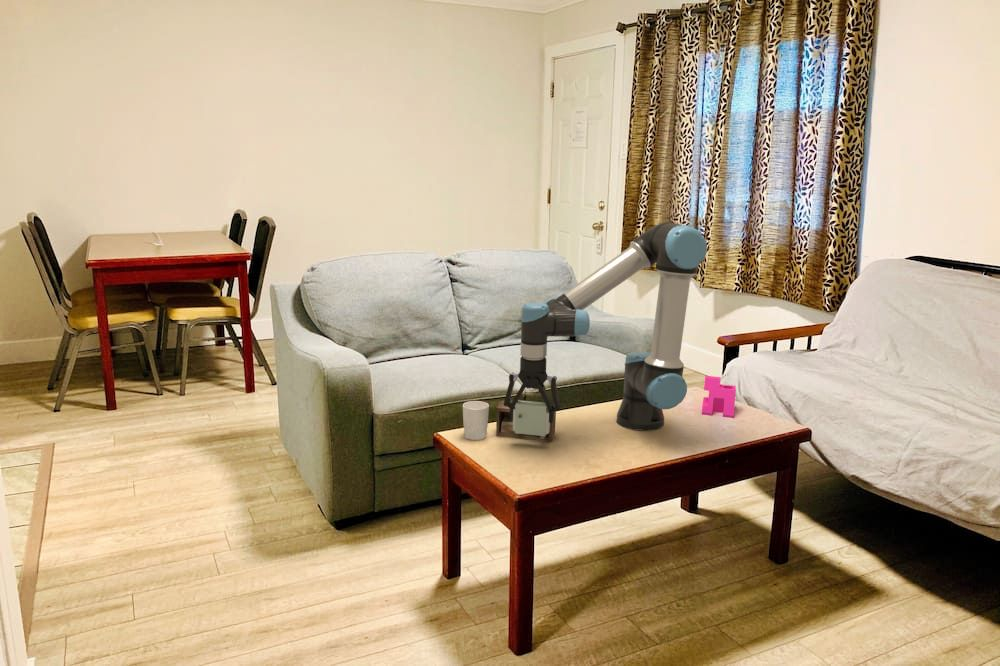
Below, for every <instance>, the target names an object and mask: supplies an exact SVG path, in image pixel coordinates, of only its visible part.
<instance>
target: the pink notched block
mask: <svg viewBox="0 0 1000 666" xmlns="http://www.w3.org/2000/svg"><path fill="white" fill-rule="evenodd" d="M721 379H722V377H721V376H712V375H711V376H710V375H705V376H704V384H703V385H704V386H703V390H704V391H708V396H707V397H706V396H703V398H702V399H703V400H702V405H701V407H702V408H701V415H702V416H711V417H713V413H721V414H722V418H729V419H734V417H735V405H736V388H737V387H736V385H729V384H722V383H721V382H722V381H721Z"/></svg>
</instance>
